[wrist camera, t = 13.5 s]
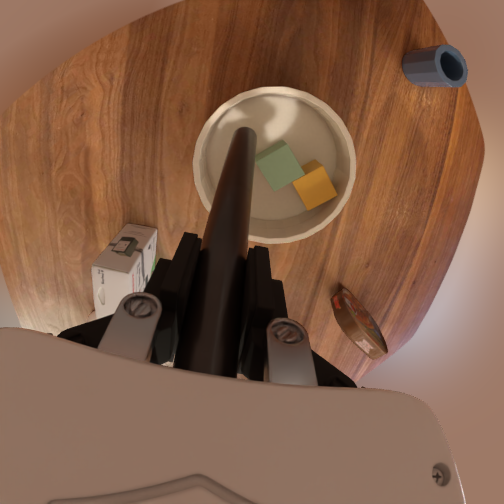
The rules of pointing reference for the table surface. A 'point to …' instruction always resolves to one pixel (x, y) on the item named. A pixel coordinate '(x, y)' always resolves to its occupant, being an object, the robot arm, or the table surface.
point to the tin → (358, 324)
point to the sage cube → (279, 165)
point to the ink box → (123, 267)
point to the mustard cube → (314, 185)
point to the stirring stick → (221, 269)
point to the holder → (435, 67)
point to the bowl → (269, 133)
